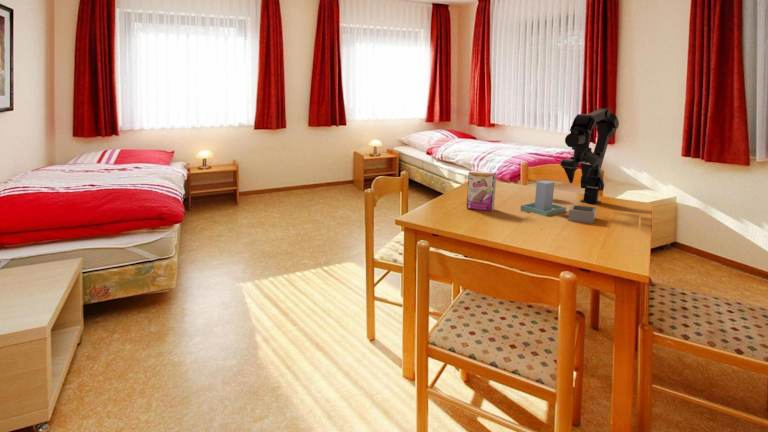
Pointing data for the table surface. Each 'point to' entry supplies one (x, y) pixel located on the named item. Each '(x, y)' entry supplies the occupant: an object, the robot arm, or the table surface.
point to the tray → (530, 208)
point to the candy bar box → (481, 190)
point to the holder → (582, 214)
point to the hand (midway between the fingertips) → (577, 181)
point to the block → (544, 195)
